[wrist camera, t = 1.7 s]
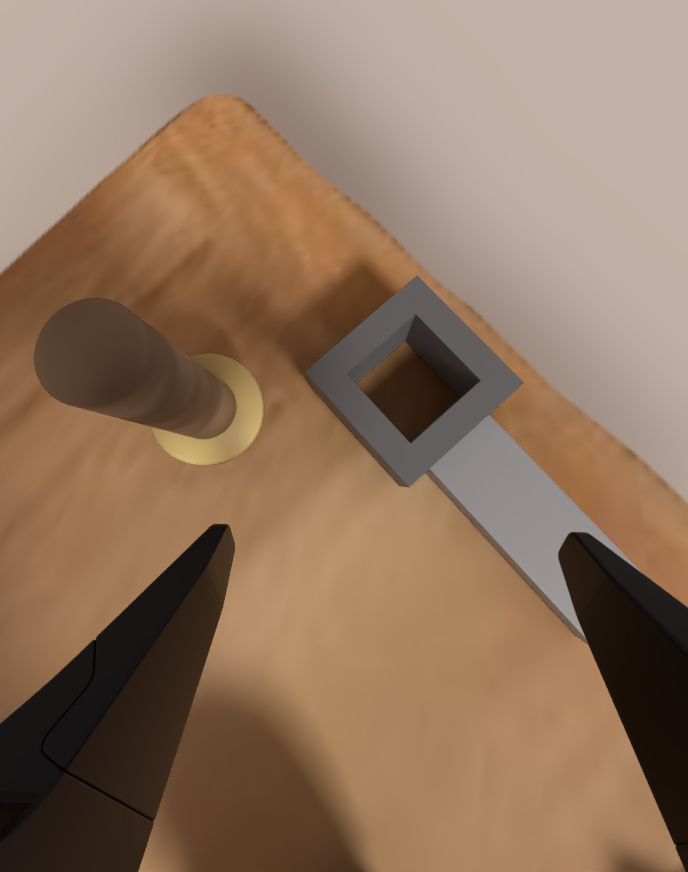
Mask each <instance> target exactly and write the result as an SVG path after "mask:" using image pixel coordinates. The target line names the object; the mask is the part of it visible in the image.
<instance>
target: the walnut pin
mask: <svg viewBox="0 0 688 872" xmlns="http://www.w3.org/2000/svg"><path fill="white" fill-rule="evenodd" d="M34 364H35V370H36V373H37V376H38V378H39V381H40V383H41V384H42V386H43V387H44V389H45V390H46V391H47V392H48V393H49V394H50V395H51V396H53V397H54V398H55V399H57V400H59V401H60V402H62V403H65V404H67V405H71V406H75V407H79V408H82V409H86V410H90V411H94V412H98V413H101V414H105V415H109V416H113V417H116V418H120V419H124V420H128V421H132V422H135V423H139V424H143V425H147V426H150V427H151V429H152V431H153V434H154V436H155V438H156V440H157V441H158V442H159V444H160V445H161V446H162V447H163V449H164V450H165V451H167V452H168V453H169V454H170V455H172V456H173V457H175V458H177V459H179V460H181V461H184V462H187V463H191V464H198V465H216V464H221V463H225V462H228V461H230V460H232V459H234V458H236V457H238V456H239V455H241V454H242V453H243V452H245V451H246V450H247V449H248V448H249V447H250V446H251V444H252V443H253V442H254V441H255V439H256V437H257V436H258V434H259V432H260V430H261V427H262V424H263V420H264V414H265V404H264V398H263V394H262V391H261V388H260V386H259V384H258V382H257V381H256V379H255V378H254V377H253V375H252V374H251V373H250V372H249V371H248V370H247V369H246V368H245V367H244V366H243V365H241V364H240V363H239V362H237V361H235V360H234V359H232V358H229V357H227V356H224V355H220V354H213V353H203V354H196V355H192V356H189V355H188V354H186V353H185V352H184V351H182V350H181V349H180V348H178V347H177V346H176V345H174V344H173V343H172V342H170V341H169V340H168V339H167V338H165V337H164V336H163V335H161V334H160V333H159V332H157V331H156V330H155V329H153V328H152V327H151V326H149V325H148V324H147V323H146V322H144V321H143V320H142V319H140V318H139V317H138V316H136V315H135V314H134V313H132V312H131V311H130V310H128V309H127V308H126V307H124V306H123V305H121V304H119V303H117V302H114V301H112V300H107V299H101V298H90V299H83V300H80V301H76V302H74V303H71V304H69V305H67V306H65V307H64V308H62V309H61V310H59V311H58V312H57V313H56V314H55V315H53V316H52V317H51V318H50V320H49V321H48V322H47V323H46V325H45V326H44V327H43V329H42V331H41V333H40V335H39V337H38V340H37V343H36V347H35V354H34Z"/></svg>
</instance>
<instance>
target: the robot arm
mask: <svg viewBox="0 0 688 872" xmlns="http://www.w3.org/2000/svg"><path fill="white" fill-rule="evenodd" d="M234 552H235V543H234V539H233V536H232V532H231V529H230V526H229V525H228V524H213V525H212V526H210V527H209V528H208V529H207V530H206V531H205V532H204V533H203V534H202V535H201V536H200V537H199V538H198V539H197V540H196V541H195V542H194V543H193V544H192V545H191V546H190V547H189V548H188V549H187V550H186V551H185V552H183V553H182V554H181V555H180V556H179V557H178V558H177V559H176V560H175V561H174V562H173V563H172V564H171V565H170V566H169V567H168V568H167V569H166V570H165V571H164V572H163V573H162V574H161V575H160V576H159V577H158V578H157V579H156V580H155V581H154V582H153V583H152V584H150V585H149V586H148V587H147V588H146V589H145V590H144V591H143V592H142V593H141V594H140V595H139V596H138V597H137V598H136V599H135V600H134V601H133V602H132V603H131V604H130V605H129V606H128V607H127V608H126V609H125V610H124V611H123V612H122V613H121V614H120V615H119V616H118V617H116V618H115V619H114V620H113V621H112V622H111V623H110V624H109V625H108V626H107V627H106V628H105V629H104V630H103V631H102V632H101V633H100V634H99V635H98V636H97V637H96V640H93V641H92V642H91V643H89V644H88V645H87V646H86V647H85V648H84V649H83V650H82V651H81V652H80V653H79V654H78V655H77V656H76V657H75V658H74V659H73V660H72V661H71V662H70V663H69V664H67V665H66V666H65V667H64V668H63V669H62V670H61V671H60V672H59V673H58V674H57V675H56V676H55V677H54V678H53V679H51V680H50V681H49V682H48V683H47V684H46V685H45V686H43V687H42V688H41V689H40V690H39V691H38V692H37V693H35V694H34V695H33V696H32V697H31V698H30V699H29V700H27V701H26V702H25V703H24V704H23V705H22V706H21V707H19V708H18V709H17V710H16V711H15V712H13V713H12V714H11V715H10V716H9V717H8V718H6V719H5V720H4V721H3V722H2V723H1V724H0V872H138V871H139V868H140V864H141V861H142V858H143V855H144V852H145V849H146V846H147V843H148V840H149V836H150V833H151V830H152V827H153V824H154V822H153V821H154V820H155V817H156V814H157V811H158V808H159V805H160V802H161V799H162V795H163V792H164V789H165V786H166V783H167V780H168V777H169V774H170V771H171V768H172V764H173V761H174V758H175V755H176V752H177V749H178V746H179V743H180V740H181V736H182V733H183V730H184V727H185V724H186V721H187V718H188V715H189V712H190V709H191V705H192V702H193V699H194V696H195V693H196V690H197V687H198V684H199V681H200V677H201V674H202V671H203V668H204V665H205V662H206V659H207V656H208V653H209V650H210V646H211V643H212V640H213V637H214V634H215V631H216V628H217V625H218V622H219V618H220V615H221V612H222V608H223V604H224V600H225V595H226V591H227V586H228V581H229V576H230V571H231V566H232V562H233V557H234ZM558 559H559V563H560V566H561V569H562V572H563V576H564V579H565V582H566V585H567V588H568V592H569V595H570V598H571V601H572V604H573V607H574V610H575V613H576V616H577V619H578V621H579V624H580V626H581V629H582V631H583V633H584V635H585V638H586V640H587V642H588V645H589V647H590V649H591V652H592V654H593V656H594V659H595V661H596V663H597V666H598V668H599V670H600V673H601V675H602V677H603V680H604V682H605V684H606V687H607V689H608V691H609V694H610V696H611V698H612V701H613V703H614V705H615V708H616V710H617V712H618V715H619V717H620V719H621V722H622V724H623V726H624V729H625V731H626V733H627V735H628V738H629V740H630V742H631V745H632V747H633V749H634V752H635V754H636V756H637V759H638V761H639V763H640V766H641V768H642V770H643V773H644V775H645V777H646V780H647V782H648V784H649V787H650V789H651V791H652V794H653V796H654V798H655V801H656V803H657V805H658V808H659V810H660V812H661V815H662V817H663V819H664V822H665V824H666V826H667V829H668V831H669V833H670V835H671V838H672V840H673V842H674V844H675V845H676V850H677V852H678V855H679V857H680V859H681V862H682V864H683V866H684V869H685V871H686V872H688V607H686V606H685V605H684V604H682V603H681V602H680V601H678V600H677V599H676V598H674V597H673V596H672V595H670V594H669V593H668V592H666V591H665V590H664V589H662V588H661V587H660V586H658V585H657V584H656V583H654V582H653V581H652V580H650V579H649V578H648V577H646V576H645V575H644V574H642V573H641V572H640V571H639V570H637V569H636V568H635V567H633V566H632V565H631V564H629V563H628V562H627V561H625V560H624V559H623V558H621V557H620V556H619V555H617V554H616V553H615V552H613V551H612V550H611V549H609V548H608V547H607V546H605V545H604V544H603V543H601V542H600V541H599V540H597V539H596V538H595V537H593V536H592V535H590V534H589V533H586V532H570V533H569V534H568V535H567V537H566V538H565V540H564V542H563V544H562V546H561V547H560V549H559V552H558Z"/></svg>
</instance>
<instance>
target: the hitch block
mask: <svg viewBox="0 0 688 872" xmlns="http://www.w3.org/2000/svg"><path fill="white" fill-rule="evenodd" d="M405 341H406V342H407V343H408V344H409V345H410V346H411V347H412V348H413V349H414V350H415V351H416V353H417V354H418V355H419V356H420V357H421V358H422V359H423V360H424V361H425V362H426V363H427V364H428V365H429V366H430V367H431V368H432V369H433V370H434V371H435V372H436V373H437V374H438V375H439V376H440V377H441V379H442V380H443V381H444V382H445V383H446V384H447V385H448V386H449V387H450V388H451V389H452V390H453V391H454V392H455V393H456V394H457V395H458V396H459V398H458V399H457V400H456V401H455V402H454V403H453V404H451V405H450V406H449V407H448V408H447V409H446V410H445V411H444V412H443V413H441V414H440V415H439V416H438V417H437V418H436V419H435V420H434V421H433V422H431V423H430V424H429V425H428V426H427V427H426V428H425V429H424V430H423V431H421V432H420V433H419V434H418V435H417V436H416V437H415V438H414V439H413V440H411V441H410V442H409V441H408V440H407V439H406V438H405V437H404V436H403V435H402V434H401V433H400V431H399V430H398V429H397V428H396V427H395V426H394V425H393V424H392V423H391V422H390V421H389V420H388V418H387V417H386V416H385V415H384V414H383V413H382V412H381V411H380V410H379V409H378V408H377V407H376V405H375V404H374V403H373V402H372V401H371V400H370V399H369V398H368V397H367V396H366V395H365V393H364V392H363V391H362V390H361V389H360V388H359V387H358V386H357V385H356V383H358V382H359V381H360V380H361V379H362V378H363V377H364V376H366V375H367V374H368V373H369V372H370V371H371V370H372V369H374V368H375V367H376V366H377V365H378V364H379V363H381V362H382V361H383V360H384V359H385V358H386V357H387V356H389V355H390V354H391V353H392V352H393V351H394V350H395V349H397V348H398V347H399V346H400V345H401V344H402V343H403V342H405ZM305 373H306V376H307V378H308V380H309V383H310V385H311V387H312V389H313V391H314V392H315V393H316V394H317V395H318V396H319V397H320V398H321V399H322V401H323V402H324V403H325V404H326V405H327V406H328V407H329V408H330V409H331V411H332V412H333V413H334V414H335V415H336V416H337V417H338V418H339V419H340V421H341V422H342V423H343V424H344V425H345V426H346V427H347V428H348V429H349V431H350V432H351V433H352V434H353V435H354V436H355V437H356V438H357V439H358V441H359V442H360V443H361V444H362V445H363V446H364V447H365V448H366V449H367V450H368V452H369V453H370V454H371V455H372V456H373V457H374V458H375V459H376V460H377V462H378V463H379V464H380V465H381V466H382V467H383V468H384V469H385V470H386V472H387V473H388V474H389V475H390V476H391V477H392V478H393V479H394V480H395V482H396V483H397V484H398V485H399V486H403V487H410V486H411V485H412V484H413V483H414V482H416V481H417V480H418V479H419V478H420V477H421V476H422V475H423V474H424V473H425V472H426V473H427V474H428V476H429V477H430V478H431V479H432V480H433V481H434V482H435V483H436V484H437V485H438V486H439V488H440V489H441V490H442V491H443V492H444V493H445V494H446V495H447V496H448V497H449V498H450V500H451V501H452V502H453V503H454V504H455V505H456V506H457V507H458V508H459V509H460V510H461V512H462V513H463V514H464V515H465V516H466V517H467V518H468V519H469V520H470V521H471V522H472V524H473V525H474V526H475V527H476V528H477V529H478V530H479V531H480V532H481V533H482V534H483V536H484V537H485V538H486V539H487V540H488V541H489V542H490V543H491V544H492V545H493V546H494V548H495V549H496V550H497V551H498V552H499V553H500V554H501V555H502V556H503V557H504V558H505V560H506V561H507V562H508V563H509V564H510V565H511V566H512V567H513V568H514V569H515V570H516V572H517V573H518V574H519V575H520V576H521V577H522V578H523V579H524V580H525V581H526V582H527V584H528V585H529V586H530V587H531V588H532V589H533V590H534V591H535V592H536V593H537V594H538V596H539V597H540V598H541V599H542V600H543V601H544V602H545V603H546V604H547V605H548V606H549V608H550V609H551V610H552V611H553V612H554V613H555V614H556V615H557V616H558V617H559V618H560V620H561V621H562V622H563V623H564V624H565V625H566V626H567V627H568V628H569V629H570V630H571V632H572V633H573V634H574V635H575V636H576V637H578V638H579V639H581V640H582V641H583V642H585V643H586V644H588V642H587V640H586V638H585V635H584V633H583V631H582V629H581V626H580V624H579V621H578V619H577V616H576V613H575V610H574V607H573V604H572V601H571V598H570V595H569V592H568V588H567V585H566V582H565V579H564V576H563V572H562V569H561V566H560V563H559V559H558V552H559V549H560V547H561V546H562V544H563V542H564V540H565V538H566V537H567V535H568V534H569V533H570V532H586V533H589V534H590V535H592V536H593V537H595V538H596V539H597V540H599V541H600V542H601V543H603V544H604V545H605V546H607V547H608V548H609V549H611V550H612V551H613V552H615V553H616V554H617V555H619V556H620V557H621V558H623V559H624V560H625V561H627V562H628V563H629V564H631V565H632V566H633V567H635V568H636V569H637V570H639V569H638V568H637V567H636V566H635V565H634V564H633V563H632V562H631V561H630V560H629V559H628V558H627V557H626V556H625V555H624V554H623V553H622V552H621V551H620V550H619V549H618V548H617V547H616V546H615V544H614V543H613V542H612V541H611V540H610V539H609V538H608V537H607V536H606V535H605V534H604V533H603V532H602V531H601V530H600V529H599V528H598V527H597V526H596V525H595V524H594V523H593V522H592V521H591V520H590V519H589V518H588V517H587V516H586V514H585V513H584V512H583V511H582V510H581V509H580V508H579V507H578V506H577V505H576V504H575V503H574V502H573V501H572V500H571V499H570V498H569V497H568V496H567V495H566V494H565V493H564V492H563V491H562V490H561V489H560V488H559V487H558V486H557V484H556V483H555V482H554V481H553V480H552V479H551V478H550V477H549V476H548V475H547V474H546V473H545V472H544V471H543V470H542V469H541V468H540V467H539V466H538V465H537V464H536V463H535V462H534V461H533V460H532V459H531V458H530V457H529V456H528V454H527V453H526V452H525V451H524V450H523V449H522V448H521V447H520V446H519V445H518V444H517V443H516V442H515V441H514V440H513V439H512V438H511V437H510V436H509V435H508V434H507V433H506V432H505V431H504V430H503V429H502V428H501V427H500V426H499V424H498V423H497V422H496V421H495V420H494V419H493V418H492V417H491V416H490V415H489V414H490V413H491V412H492V411H493V410H495V409H496V408H497V407H498V406H499V405H500V404H501V403H502V402H503V401H504V400H506V399H507V398H508V397H509V396H510V395H511V394H512V393H513V392H514V391H515V390H517V389H518V388H519V387H520V386H521V385H522V384H523V383H524V382H523V381H522V380H521V379H520V378H519V377H518V376H517V375H516V374H515V373H514V372H513V371H512V370H511V369H510V368H509V367H508V366H507V365H506V364H505V363H504V362H503V361H502V360H501V359H500V358H499V357H498V356H497V355H496V354H495V353H494V352H493V351H492V350H491V349H490V348H489V347H488V346H487V345H486V344H485V343H484V342H483V341H482V340H481V339H480V338H479V337H478V336H477V335H476V334H475V333H474V332H473V331H472V330H471V329H470V328H469V327H468V326H467V325H466V324H465V323H464V322H463V321H462V320H461V319H460V318H459V317H458V316H457V315H456V314H455V313H454V312H453V311H452V310H451V309H450V308H449V307H448V306H447V305H446V304H445V303H444V302H443V301H442V300H441V299H440V298H439V297H438V296H437V295H436V294H435V293H434V292H433V291H432V290H431V289H430V288H429V287H428V286H427V285H426V284H425V283H424V282H423V281H422V280H421V279H420V278H419V277H418V276H416V277H414V278H413V279H412V280H411V281H410V282H409V283H407V284H406V285H405V286H404V287H403V288H402V289H400V290H399V291H398V292H397V293H396V294H395V295H393V296H392V297H391V298H390V299H389V300H388V301H386V302H385V303H384V304H383V305H382V306H381V307H379V308H378V309H377V310H376V311H375V312H374V313H372V314H371V315H370V316H369V317H368V318H367V319H366V320H364V321H363V322H362V323H361V324H360V325H359V326H357V327H356V328H355V329H354V330H353V331H352V332H350V333H349V334H348V335H347V336H346V337H345V338H343V339H342V340H341V341H340V342H339V343H338V344H336V345H335V346H334V347H333V348H332V349H331V350H329V351H328V352H327V353H326V354H325V355H324V356H322V357H321V358H320V359H319V360H318V361H317V362H315V363H314V364H313V365H312V366H311V367H310V368H308V369H307V370H306V371H305ZM639 571H640V570H639ZM640 572H641V571H640ZM641 573H642V572H641ZM642 574H643V573H642Z"/></svg>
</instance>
